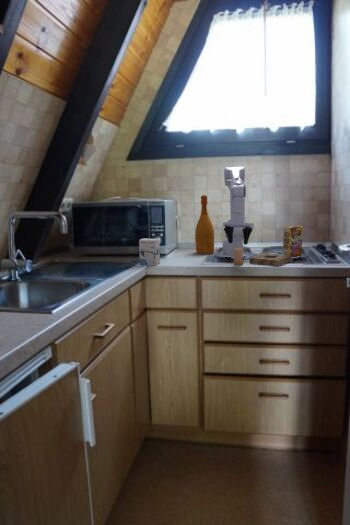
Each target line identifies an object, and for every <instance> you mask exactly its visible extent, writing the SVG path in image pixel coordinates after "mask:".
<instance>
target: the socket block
mask: <svg viewBox="0 0 350 525" xmlns="http://www.w3.org/2000/svg"><path fill="white" fill-rule="evenodd" d="M248 260H249V264H254V265H263V266H264V265H265V266H270V267H271V266H273V267H280V266H282V265H285V264H287V263H289V262H292V259H291V255H283V254H280V253H279V254H276V253H269V252H268V253H266V252H263V253H260V254H257V255H254V256H251V257H249V259H248Z"/></svg>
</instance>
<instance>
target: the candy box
mask: <svg viewBox="0 0 350 525" xmlns="http://www.w3.org/2000/svg"><path fill="white" fill-rule="evenodd" d="M303 229H304V227H303V225H293V226H292V225H291V226H284V227H283V242H282V243H283V244H282V245H283V246H282V255H291V258H292V257H297V256H301V257H302V254H303V252H302V250H303Z"/></svg>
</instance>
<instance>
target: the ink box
mask: <svg viewBox="0 0 350 525" xmlns="http://www.w3.org/2000/svg"><path fill="white" fill-rule="evenodd" d="M138 244H139V245H138V246H139V249H138V251H139V265H140V264H142V265H143V266H158V265H160V263H161V258H160V257H161V256H160V254H161V253H160V252H161V251H160V250H161V249H160V239H159V238H144V237H143V238H140V239H139V240H138Z"/></svg>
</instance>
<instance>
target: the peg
mask: <svg viewBox="0 0 350 525" xmlns="http://www.w3.org/2000/svg"><path fill="white" fill-rule="evenodd" d="M243 255H244V248H243V249H234V258H233V265H234V266H243V264H244V263H243V262H244V261H243V258H244V257H243Z"/></svg>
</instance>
